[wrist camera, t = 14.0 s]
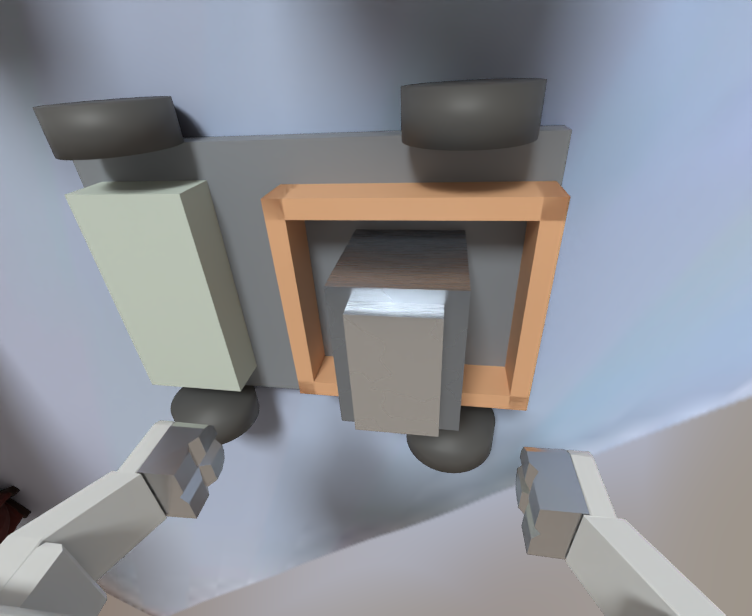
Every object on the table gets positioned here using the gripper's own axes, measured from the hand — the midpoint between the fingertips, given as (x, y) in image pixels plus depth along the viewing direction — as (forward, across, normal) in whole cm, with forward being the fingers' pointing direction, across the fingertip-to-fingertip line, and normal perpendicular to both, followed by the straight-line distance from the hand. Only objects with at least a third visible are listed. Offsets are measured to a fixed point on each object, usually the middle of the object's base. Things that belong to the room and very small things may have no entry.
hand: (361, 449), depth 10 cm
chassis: (+10, +4, 0) cm, 11 cm away
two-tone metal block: (+9, -1, 0) cm, 9 cm away
